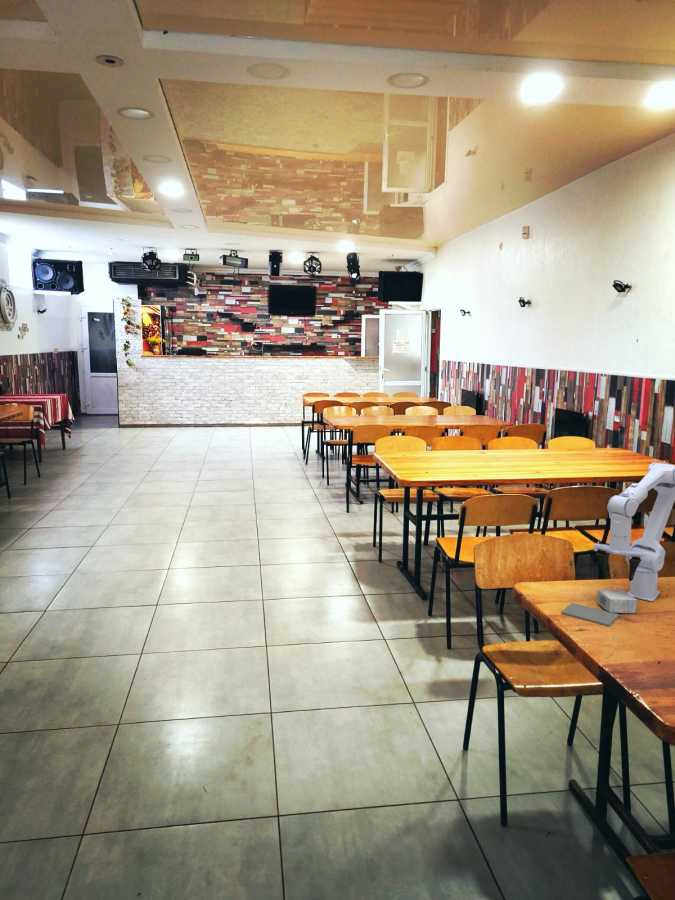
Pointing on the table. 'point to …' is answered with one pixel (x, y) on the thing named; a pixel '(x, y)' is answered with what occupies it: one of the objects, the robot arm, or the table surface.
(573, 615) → the mat
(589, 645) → the table surface
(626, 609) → the medicine box
